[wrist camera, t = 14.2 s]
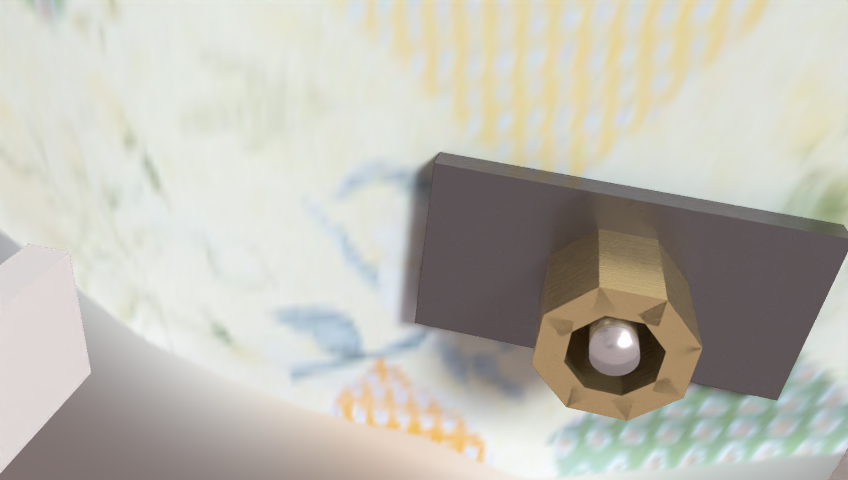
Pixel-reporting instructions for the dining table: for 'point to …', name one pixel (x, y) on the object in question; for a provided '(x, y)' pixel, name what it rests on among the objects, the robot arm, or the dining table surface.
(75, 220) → the dining table surface
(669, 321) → the ring
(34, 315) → the robot arm
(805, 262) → the shaft stand
